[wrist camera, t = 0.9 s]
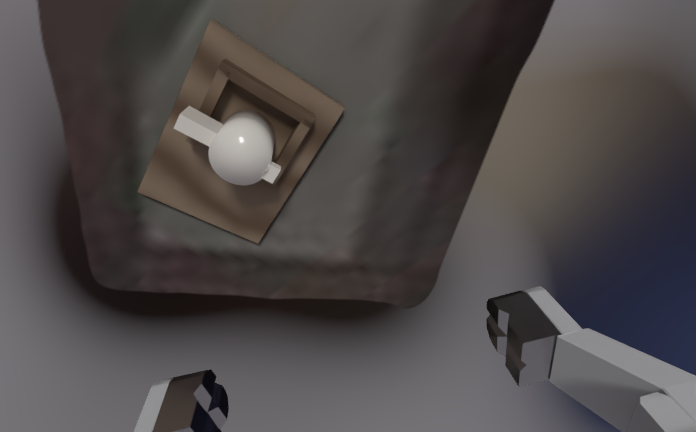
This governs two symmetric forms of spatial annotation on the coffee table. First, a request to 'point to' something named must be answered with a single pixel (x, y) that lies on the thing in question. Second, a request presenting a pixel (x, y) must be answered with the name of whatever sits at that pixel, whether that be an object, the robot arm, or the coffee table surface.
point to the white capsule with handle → (234, 144)
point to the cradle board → (218, 103)
